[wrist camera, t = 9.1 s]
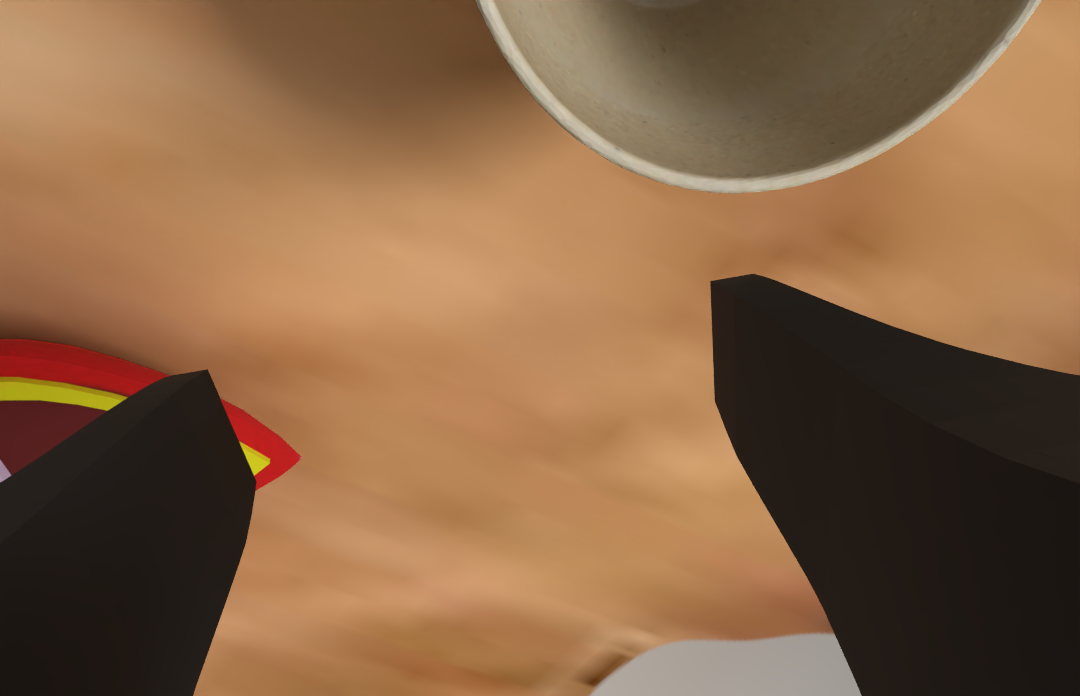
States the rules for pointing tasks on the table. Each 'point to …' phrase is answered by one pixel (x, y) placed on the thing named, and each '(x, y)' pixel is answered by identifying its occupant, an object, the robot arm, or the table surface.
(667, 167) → the flower pot
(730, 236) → the table surface
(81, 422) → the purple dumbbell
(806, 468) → the robot arm
